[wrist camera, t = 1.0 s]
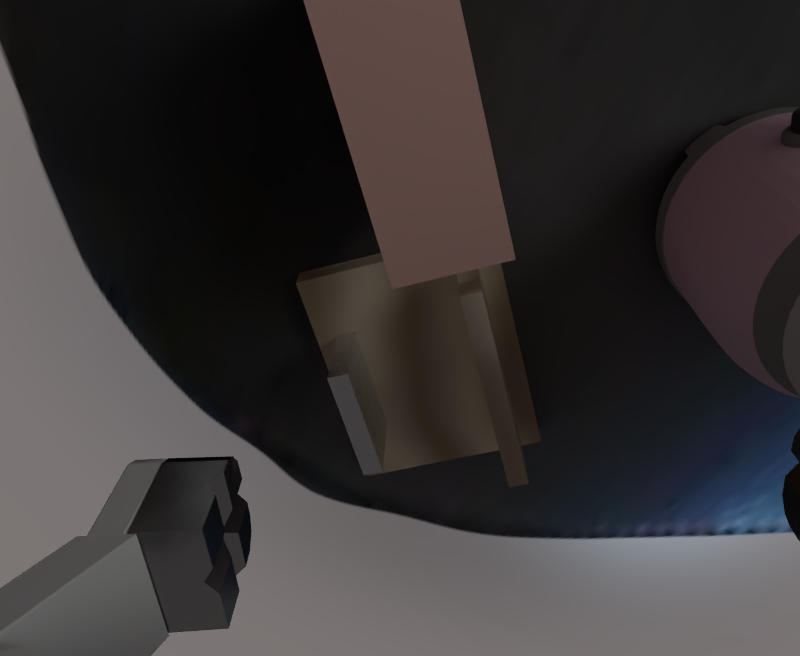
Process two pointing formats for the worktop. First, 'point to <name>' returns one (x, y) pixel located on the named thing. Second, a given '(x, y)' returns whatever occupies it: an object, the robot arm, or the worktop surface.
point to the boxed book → (415, 133)
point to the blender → (741, 241)
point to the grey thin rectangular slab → (358, 402)
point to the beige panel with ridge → (432, 360)
